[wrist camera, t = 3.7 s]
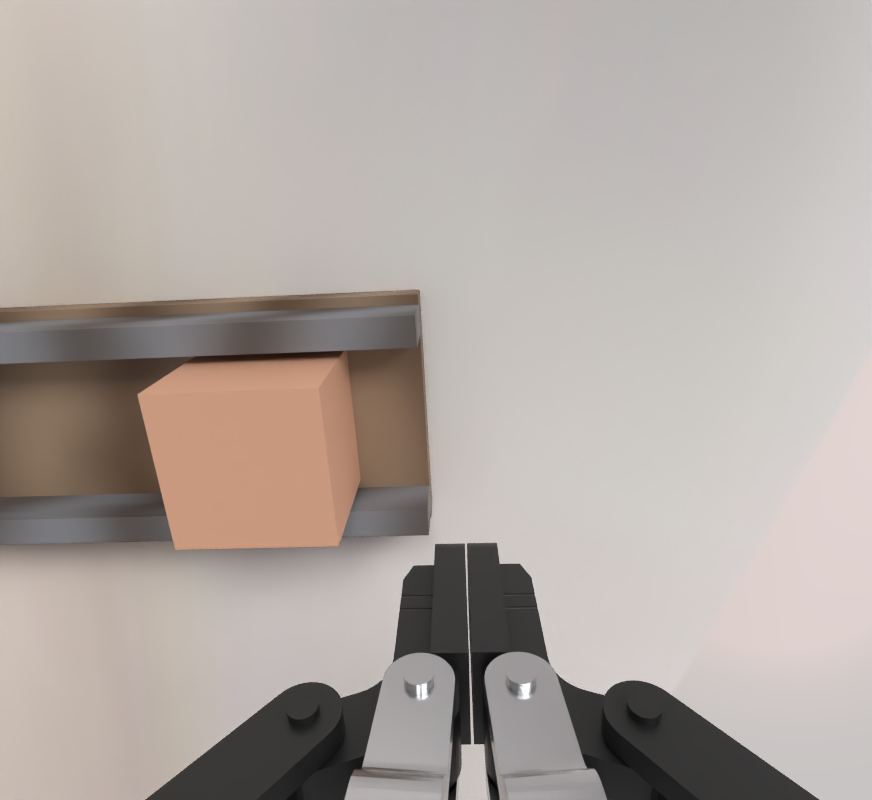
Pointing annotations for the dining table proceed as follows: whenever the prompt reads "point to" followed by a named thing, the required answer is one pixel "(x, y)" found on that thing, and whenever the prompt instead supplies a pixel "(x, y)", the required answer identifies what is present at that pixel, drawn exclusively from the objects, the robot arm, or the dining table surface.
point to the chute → (160, 355)
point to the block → (255, 449)
